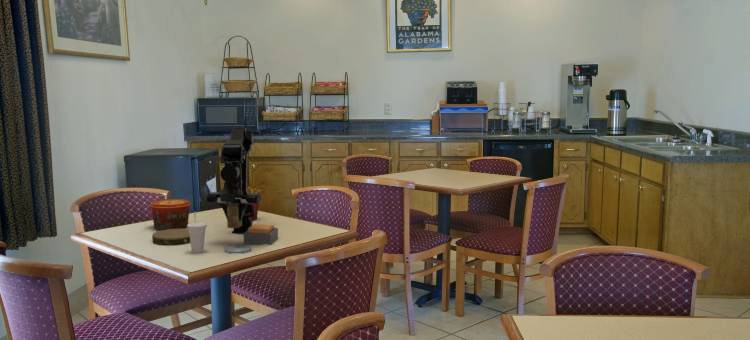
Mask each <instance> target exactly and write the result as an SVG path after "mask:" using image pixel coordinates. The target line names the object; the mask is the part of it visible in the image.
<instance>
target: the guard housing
mask: <svg viewBox="0 0 750 340" xmlns="http://www.w3.org/2000/svg"><path fill="white" fill-rule="evenodd" d="M277 238H278V239H279V229H278V227H274V229H273V230H272V231H270V232H269V233H248V231H246V232H245V233H243V245H260V244H271V245H272V244H274V242H276V241H277V240H278V239H277ZM276 239H277V240H276ZM275 240H276V241H275Z"/></svg>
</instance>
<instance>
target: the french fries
mask: <svg viewBox="0 0 750 340" xmlns="http://www.w3.org/2000/svg"><path fill="white" fill-rule="evenodd" d="M250 191H251V192H250ZM260 192H261V190H260V189H257V188H254V189H253V188H251V187H250V186H247V193H248V194H249V193H260ZM252 204H253V205H254V212H255V216H254V217H251V220H252V222H254V221H257V220H258V214H259V213H258V212H259V204H260V203H259V202H258V203H252Z"/></svg>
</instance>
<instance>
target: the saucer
mask: <svg viewBox="0 0 750 340" xmlns="http://www.w3.org/2000/svg"><path fill="white" fill-rule="evenodd" d="M249 251H250V252H251V251H252V246H251V245H249V244H234V245H230V246H226V247H225V248H224V252H225V253H226V252H228V253H227V254H231V253H241V254H246V253H245V252H247V253H249Z"/></svg>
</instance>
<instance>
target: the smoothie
mask: <svg viewBox="0 0 750 340" xmlns="http://www.w3.org/2000/svg"><path fill="white" fill-rule="evenodd" d="M193 219H194V221H193V222H192V223H188V225H187V228H186V229H188V230H189V236H190V242H191V243H190V248H191V253H192V254H202V253H204V248H205V237H206V228H207V226H208V225H207V223H205V222H197V212H196V211H194V212H193Z"/></svg>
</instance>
